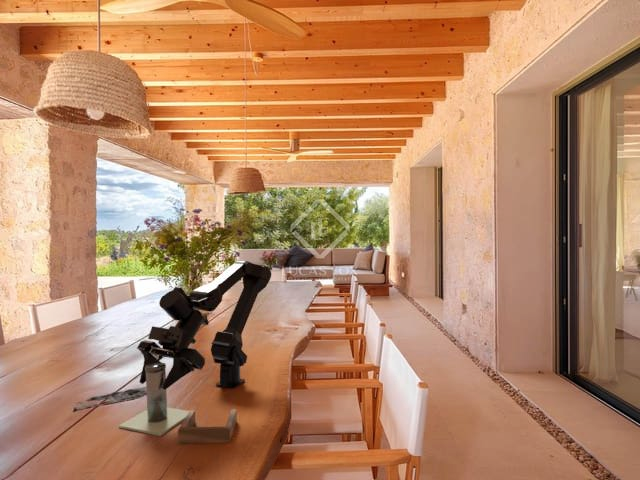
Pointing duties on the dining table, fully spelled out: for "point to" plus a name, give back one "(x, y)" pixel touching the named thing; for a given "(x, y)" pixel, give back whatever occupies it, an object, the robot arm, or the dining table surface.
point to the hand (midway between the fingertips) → (152, 385)
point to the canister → (156, 392)
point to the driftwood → (117, 397)
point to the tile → (155, 428)
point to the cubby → (206, 430)
